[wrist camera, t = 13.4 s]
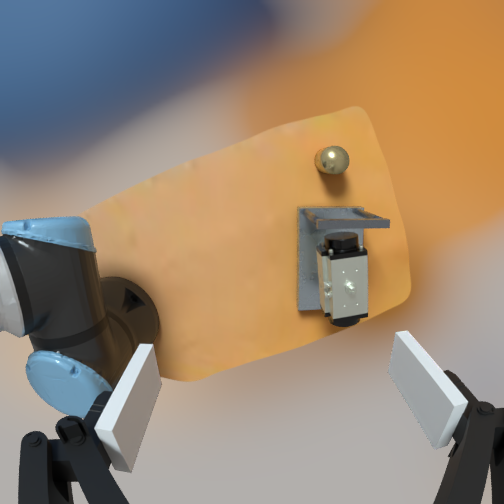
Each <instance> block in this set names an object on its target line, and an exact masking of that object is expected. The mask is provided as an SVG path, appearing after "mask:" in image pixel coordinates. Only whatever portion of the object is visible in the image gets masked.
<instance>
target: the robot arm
mask: <svg viewBox="0 0 504 504" xmlns="http://www.w3.org/2000/svg"><path fill="white" fill-rule="evenodd" d="M1 232H2V234H3V236H0V332H1V331H7V332H9V333H11V334H13V335H15V336H17V337H19V338H20V337H23V336H25V335H27V334H28V335H29V338H30V340H31V343H32V346H33V349H34V352H33V353H32V354H31V355H30V356H29V357H28V361H27V364H26V374H27V378H28V380H29V382H30V384H31V386H32V387H33V389H34V390H35V392H36V393H37V394H38V395H39V396H40V397H41V398H42V399H43V400H44V401H45V402H46V403H48V404H49V405H51V406H52V407H54V408H55V409H56V410H58V411H60V412H62V413H64V414H67V415H69V416H66V417H64V418H62V419H60V420H59V421H58V422H57V424H56V427H55V428H56V432H57V434H58V436H59V438H60V439H53V440H48V438H47V437H46V435H45V434H44V433H42V432H40V431H33V432H30V433H28V434H26V435H25V436H24V437H23V439H22V442H21V451H20V465H19V490H18V491H19V492H18V504H74V502H73V495H72V487H71V482H79V484H80V486H81V488H82V491H83V493H84V495H85V497H86V499H87V501H88V503H89V504H129V503H128V501H127V499H126V498H125V496H124V495H123V493H122V491H121V490H120V488H119V486H118V485H117V483H116V482H115V480H114V478H113V476H112V475H111V473H110V471H109V466H110V464H111V463H112V465H113V467H114V469H115V470H119V471H124V472H130V473H131V472H132V469H133V466H134V463H135V460H136V457H137V454H138V451H139V448H140V445H141V442H142V439H143V437H144V433H145V431H146V428H147V425H148V422H149V419H150V416H151V413H152V411H153V408H154V405H155V402H156V399H157V397H158V394H159V391H160V388H161V385H162V383H161V379H160V374H159V370H158V365H157V360H156V356H155V351H154V346H153V342H154V340H155V338H156V336H157V333H158V329H159V318H158V313H157V310H156V307H155V305H154V303H153V302H152V300H151V298H150V297H149V296H148V294H147V293H146V292H145V291H144V290H143V289H142V288H140V287H139V286H138V285H136V284H135V283H133V282H131V281H129V280H127V279H124V278H120V277H105V278H102V279H100V276H99V271H98V265H97V260H96V254H95V253H96V252H97V251H96V248H94V244H93V239H92V234H91V228H90V225H89V223H88V222H87V221H86V220H85V219H84V218H81V217H75V216H73V217H52V218H38V219H26V220H16V221H7V222H4V223H3V225H2V231H1ZM388 373H389V375H390V377H391V378H392V380H393V382H394V383H395V385H396V386H397V388H398V390H399V391H400V393H401V394H402V396H403V398H404V399H405V401H406V403H407V404H408V406H409V408H410V409H411V411H412V413H413V414H414V416H415V417H416V419H417V421H418V423H419V424H420V426H421V428H422V429H423V431H424V433H425V434H426V436H427V437H428V439H429V441H430V443H431V445H432V446H433V448H434V449H438V448H441V447H444V446H447V445H448V444H449V442H450V440H451V438H452V437H453V438H454V440H455V441H456V442H455V444H454V446H453V448H452V450H451V452H450V453H449V455H448V457H450V459H449V462H448V465H447V468H446V471H445V474H444V477H443V480H442V482H441V485H440V488H439V491H438V493H437V496H436V498H435V501H434V503H433V504H481V500H482V496H483V492H484V488H485V484H486V479H487V474H488V469H489V464H490V469H491V485H492V504H504V408H495V407H494V406H493V405H492V404H490V403H488V402H483V401H481V402H479V401H478V400H477V399H476V397H475V396H474V395H473V394H472V393H471V392H470V390H469V389H468V388H467V387H466V386H465V385H464V383H462V382H461V380H460V379H459V378H458V377H457V376H456V374H454V373H452V372H450V371H449V370H446V371H442V370H441V369H440V367H439V366H438V365H437V364H436V363H435V362H434V360H433V359H432V358H431V357H430V356H429V355H428V353H426V351H425V350H424V349H423V348H422V347H421V345H420V344H419V343H418V342H417V341H416V340H415V339H414V338H413V336H412V335H411V334H410V333H409V332H408V331H401V332H396V333H395V338H394V344H393V350H392V354H391V359H390V364H389V369H388ZM82 418H84V420H82Z"/></svg>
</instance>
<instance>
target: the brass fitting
mask: <svg viewBox="0 0 504 504" xmlns="http://www.w3.org/2000/svg"><path fill="white" fill-rule="evenodd" d="M315 165H316V167H317V169H318V170H319V171H321V172H322V173H326V174H340V173H343V172H344V171H345V170H346V169H347V168H348V165H349V156H348V154H347V152H346V151H345V150H344V149H343V148H341V147H339V146H331V147H327V148H323V149H321V150H319V151H318V152H317V154H316V155H315Z"/></svg>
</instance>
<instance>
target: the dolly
mask: <svg viewBox="0 0 504 504" xmlns="http://www.w3.org/2000/svg"><path fill="white" fill-rule="evenodd" d="M364 218H365V219H364ZM363 228H390V220H389V219H387V218H381V217H379V216H376V215H374V214H371V213H369V212H366V211H364V208H363V207H360V206H319V207H297V308H298V311H299V310H316V309H321V308H320V293H319V277H318V263H317V251H316V246H319V243H322V242H324V236H325V235H327V234H330V233H334V232H354V233H357V234H358V239H359V245H363Z"/></svg>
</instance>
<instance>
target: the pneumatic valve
mask: <svg viewBox="0 0 504 504" xmlns="http://www.w3.org/2000/svg"><path fill="white" fill-rule="evenodd" d="M316 251H317V263H318V277H319V293H320V308H321V310H322V312H323V314H324V316H325V317H329V322H330V323H331V324H332V325H335V326H338V327H348V326H352V325H355V324H357V323H358V322H359V321H360V318H365V317H368V256H367V250H366V249H365V248H364V247H363V245H359V239H358V234H357V233H354V232H334V233H330V234H327V235H325V236H324V242H322V243H319V246H316Z"/></svg>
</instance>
